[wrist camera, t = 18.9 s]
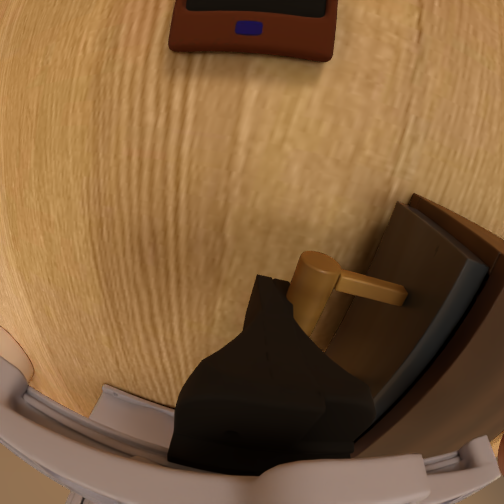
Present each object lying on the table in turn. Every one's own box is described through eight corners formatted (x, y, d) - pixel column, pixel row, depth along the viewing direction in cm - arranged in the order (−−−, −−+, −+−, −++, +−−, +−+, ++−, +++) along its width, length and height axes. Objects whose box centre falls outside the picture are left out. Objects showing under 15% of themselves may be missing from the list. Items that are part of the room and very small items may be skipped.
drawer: (250, 350, 16) (237, 436, 10) (310, 170, 11) (339, 209, 6) (453, 377, 16) (477, 432, 11) (526, 265, 11) (574, 312, 6)
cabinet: (329, 362, 17) (341, 466, 10) (413, 192, 12) (515, 264, 5) (461, 375, 17) (490, 441, 10) (534, 260, 12) (592, 316, 5)
